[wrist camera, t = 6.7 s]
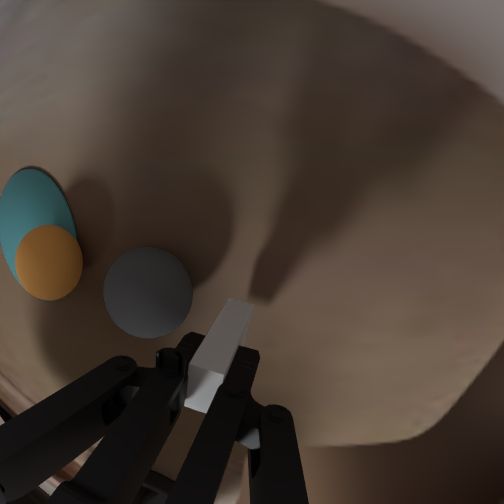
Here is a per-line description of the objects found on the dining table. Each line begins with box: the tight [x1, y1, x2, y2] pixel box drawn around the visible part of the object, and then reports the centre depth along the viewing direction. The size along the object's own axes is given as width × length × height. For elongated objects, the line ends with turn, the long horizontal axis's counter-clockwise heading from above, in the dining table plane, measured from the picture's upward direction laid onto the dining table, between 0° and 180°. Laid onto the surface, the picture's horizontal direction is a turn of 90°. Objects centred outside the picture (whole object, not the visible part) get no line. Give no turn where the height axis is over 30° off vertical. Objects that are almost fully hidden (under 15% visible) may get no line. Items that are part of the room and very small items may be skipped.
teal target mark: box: [0, 169, 78, 301], centre depth 22 cm, size 12×12×1 cm
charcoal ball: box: [103, 247, 193, 338], centre depth 18 cm, size 6×6×6 cm
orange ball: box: [15, 225, 83, 300], centre depth 19 cm, size 6×6×6 cm
